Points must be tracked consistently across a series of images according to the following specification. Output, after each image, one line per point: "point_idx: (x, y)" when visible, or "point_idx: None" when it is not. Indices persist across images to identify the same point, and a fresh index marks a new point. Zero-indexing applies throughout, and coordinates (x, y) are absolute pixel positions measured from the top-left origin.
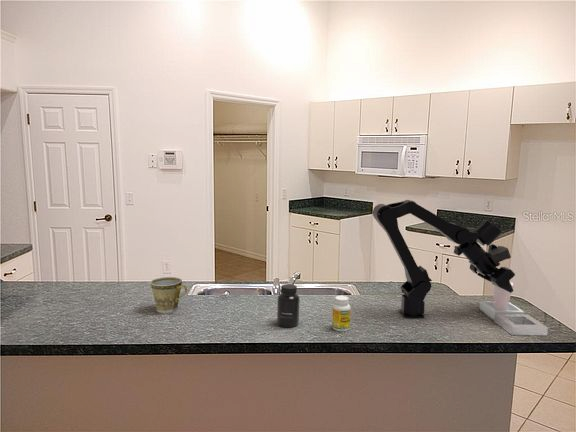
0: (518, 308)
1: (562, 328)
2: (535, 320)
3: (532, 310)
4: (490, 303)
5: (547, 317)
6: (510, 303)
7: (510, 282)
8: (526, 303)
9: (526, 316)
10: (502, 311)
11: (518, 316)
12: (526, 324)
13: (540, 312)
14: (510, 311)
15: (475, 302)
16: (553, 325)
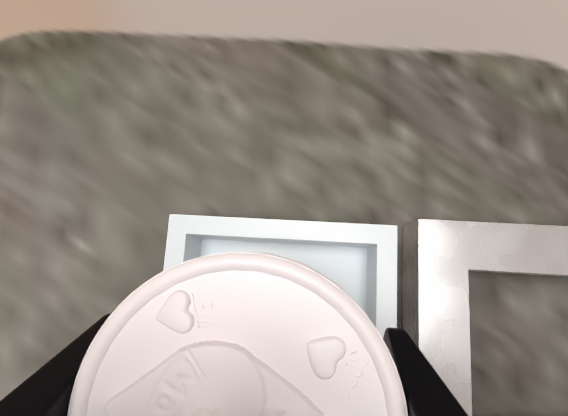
0: (326, 227)
1: (498, 74)
2: (545, 235)
3: (210, 69)
4: None
5: (327, 52)
6: (214, 222)
7: (222, 272)
8: (92, 33)
9: (465, 252)
10: None
11: (466, 315)
12: (480, 271)
13: (245, 43)
14: None
15: (27, 371)
16: (454, 96)
